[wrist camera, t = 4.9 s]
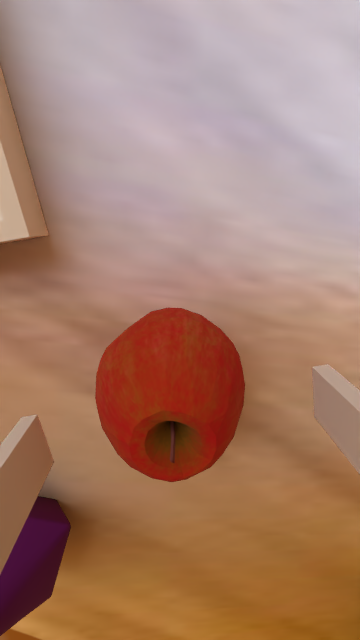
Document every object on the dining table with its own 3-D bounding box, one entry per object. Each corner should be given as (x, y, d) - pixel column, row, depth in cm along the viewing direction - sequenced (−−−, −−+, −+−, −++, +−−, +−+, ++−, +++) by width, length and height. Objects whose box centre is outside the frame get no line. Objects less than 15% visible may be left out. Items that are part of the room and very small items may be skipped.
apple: (149, 270, 20) (137, 316, 10) (250, 332, 22) (329, 427, 11) (89, 368, 22) (26, 495, 12) (187, 419, 23) (206, 569, 13)
